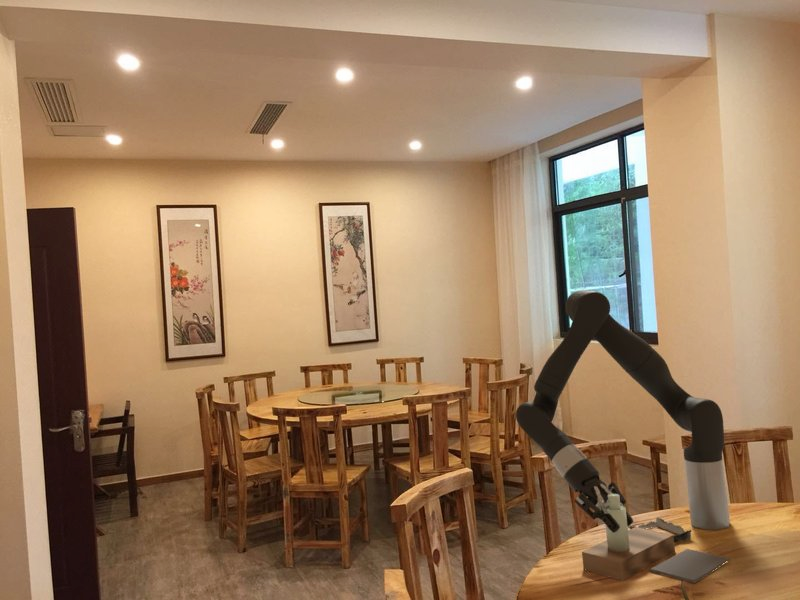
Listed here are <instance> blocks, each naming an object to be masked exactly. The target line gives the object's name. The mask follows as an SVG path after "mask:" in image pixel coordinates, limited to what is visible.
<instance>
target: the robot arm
mask: <svg viewBox="0 0 800 600" xmlns="http://www.w3.org/2000/svg"><path fill="white" fill-rule="evenodd" d="M565 311H566V314H567V316H568V318H569V319H570V321H572V322H571V325H570V327H569V330H568V332H567V333H566V335H565V337H564V338H563V340H562V341H561V342H560V343H559V345H558V346H557V347H556V348H555V349H554V350H553V352H552V353H551V355H550V356H549V357H548V358H547V360H546V362H545V364H544V365H543V367H542V368H541V371H540V372H539V375H538V376H537V378H536V380H535V382H534V386H533V389H534V391H535V395H534V398H533V401H532V402H531V401H525V402H522V403H520V404H519V406H518V407H517V408H516V410H515V418H516V421H517V424H518V426H519V427H520V428H521V429H522V431H523V432H524V433H525V434H526V435H527V436H528V437H530V439H531V440H533V442H535V443H536V444H537V445H538V446H539V447H540V449H541V450H542V451H543V453H544V454H545V455H546V456H547V458H548V459H549V460H550V461H551V463H552V464H553V466H554V467H555V469H556V470H557V471H558V473H559V474H560V476H561V478H563V479H564V481H565V482H566V483H567V484H568V485H569V487H570V488H571V489H572V490H573V492H574V493H577V494H578V495H577V497H576V498H575V499H574V502H575V504H576V505H577V506H579V507H580V508H581V509H582V511H584V513H586V514H587V515H588V516H589V517H591V519H592V520H596V519H599V520H601V521H602V522H603V523H604V524H606V525H607V527H608V528H609V529H610V530H611V531H612V532H613V533H614V532H616V531H617V530H618V529H619V528H620V526H619V524H618V523H617V522H616V521H615V520H614V518H613V517H612V516H611V515H610V514H607V513H608V511H607V509H606V506H609V505H608V494H618V495H619V497H620V506H623V507H625V505H626V503H627V501H626V499H625V497H624V495H623V494H622V493H621V491H620V489H619V487H618V486H617V484H616V483H615V482H614V481H611V482H610V483H609V484H608V483H605V482H604V481H603V480H601V479H600V472H599V470H598V469H597V468H596V467H595V465H594V464H593V463H592V462H591V461H590V460H589V458H588V457H587V456H586V455H585V454H584V452H583V451H582V450H580V448H578V447H577V446H576V445H575V443H573V441H572V440H571V438H570V437H569V436H567V434H566V433H565V432H564V431H563V430H562V429H560V428H559V427H557V426H556V425H555V424H554V423H553V422H552V421H553V420H554V417H555V414H556V411H557V407H558V405H559V398H560V396H561V395H562V393H563V391H564V389H565V388H566V385H567V383H568V381H569V379H570V377H571V375H572V373H573V371H574V370H575V367H576V365H577V364H578V363H579V360H580V359H581V357H582V356H583V354H584V352H585V351H586V349H587V348H588V346H590V345H589V344H591V342H592V340H593V339H595V340H596V341H597V343H599V345H600V346H601V347H603V349H604V350H605V351H606V352H607V353H608V355H610V357H612V358H613V360H614V361H615V362H616V363H617V364H618V365H619V366H620V367H621V368H622V369H623V370H624V371H625V372H626V373H627V374H628V375H629V376H630V377H631V378H632V379H633V380H634V381H636V382H637V383H638V384H639V385H640V386H641V387H642V388H643V389H644V390H645V391H646V392H647V394H649V395H650V396H651V397H653V398H654V400H656V401H657V402H658V403H659V404H660V405H661V407H662V408H663V409H664V410H665V411H666V413H667V414H668V415H669V416H670V417H671V419H672V420H673V421H674V423H676V425H677V426H679V428H681V429H683V430H685V431H687V432H691V444H689V445H688V446H685V447H684V449H683V459H684V467H685V468H684V469H685V470H684V471H685V477H686V488H687V499H688V504H689V505H688V506H689V507H688V508H689V517H690V524H691V525H692V526H693V527H694V528H697V529H702V530H709V531H710V530H712V531H713V530H715V531H717V530H724V529H727V528H729V527H730V522H731V520H730V513H729V503H728V492H727V487H726V478H725V469H724V461H723V451H724V449H725V431H724V430H725V429H724V417H723V413H722V410H721V408H720V405H718V403H717V402H716V401H714V400H712V399H707V398H701V397H695V396H692V395H691V394H689V393H688V392H687V391H685V389H683V388H682V387H681V386H680V385H679V384H678V383H677V382H676V381H675V379H674V378H673V376H672V374H671V371H670V368H669V366H668V364H667V361H665V359H664V358H663V357H662V355H661V354H659V353H658V352H657V350H656V349H654V347H653V346H651V345H650V344H649V343H648V342H647V341H646V340H645V339H643V338H641V337H640V336H639V335H637V334H635V333H634V332H633V331H631V330H630V329H628V328H627V327H625V326H624V325H622V324H621V323H619V322H618V321H617V320H616V319H614V317H613V316H612V315H611V314H610V312H611V303H610V300H609V299H608V297H607V296H606V295H605V294H604V293H602V292H599V291H597V290H596V291H595V290H588V289H587V290H586V289H581V290H576V291H574V292H572V293H570V294H569V296H568V297H567V299H566V301H565ZM626 516H627V526H631V525H632V524H633V523H634V519H633V517H632V516H631V515H630V514H629V513H628V511H627V510H626ZM606 525H605V526H606Z"/></svg>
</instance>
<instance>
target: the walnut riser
mask: <svg viewBox="0 0 800 600" xmlns="http://www.w3.org/2000/svg"><path fill="white" fill-rule="evenodd" d="M674 535H675V534H671V533H667V532H662V531H658V530H652V529H643V528H638V526H636V527H635V528H632V529H628V536H629V546H630V549H629V550H627V551H623V552H616V551H611V550H609V549H608V545H607V539H606V540H604V541H602V542H600V543H598V544H596V545H594V546H591V547H590V548H587V549H585V550H583V551H581V556H582V567H583V570H584V569H586V570H585V571H587V570H589V571H588V572H591V571H592V573H594V574H599V575H602V576H606V577H609V578H612V579H616V580H619V581H624V580H626V579H628V578H629V577H631V576H633V575H635V574H637V573H639V572H641V571H642V570H644V569H646V568H648V567H650V566H652V565H654V564H655V563H658V562H660V561H661V560H663V559H665V558H666V557H669V556H670V555H672V554H675V552H676V546H675V543H674Z"/></svg>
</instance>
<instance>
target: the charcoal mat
mask: <svg viewBox="0 0 800 600" xmlns="http://www.w3.org/2000/svg"><path fill="white" fill-rule="evenodd" d="M728 560H730V561H731V558H730V557H725V556H721V555H716V554H712V553H709V552H704V551H703V552H702V551H698V550H694V549H690V548H686V549H684V550H682V551H681V552H679V553H676V554H675V555H674V556H671V557H670V558H667V559H666V560H664V561H662V562H661V563H659V564H657V565H656V566H654V567H651V568H650V572H651V573H655V574H659V575H662V576H666V577H669V578H673V579H677V580H681V581H684V580H685V581H684V582H689V583H693V584H695V583H697V582H699V581H700V580H702V579H704V578H705V577H707V576H708V574H709V573H710V574H712V573H713V572H714V571H713V570H715V569H716V568H718V567H719V566H721V565H722V564H723V563H725V562H726V561H728ZM721 567H722V566H721ZM718 569H719V568H718ZM712 571H713V572H712ZM715 571H716V570H715ZM711 572H712V573H711ZM710 574H709V575H710ZM706 575H707V576H706ZM703 577H704V578H703Z"/></svg>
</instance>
